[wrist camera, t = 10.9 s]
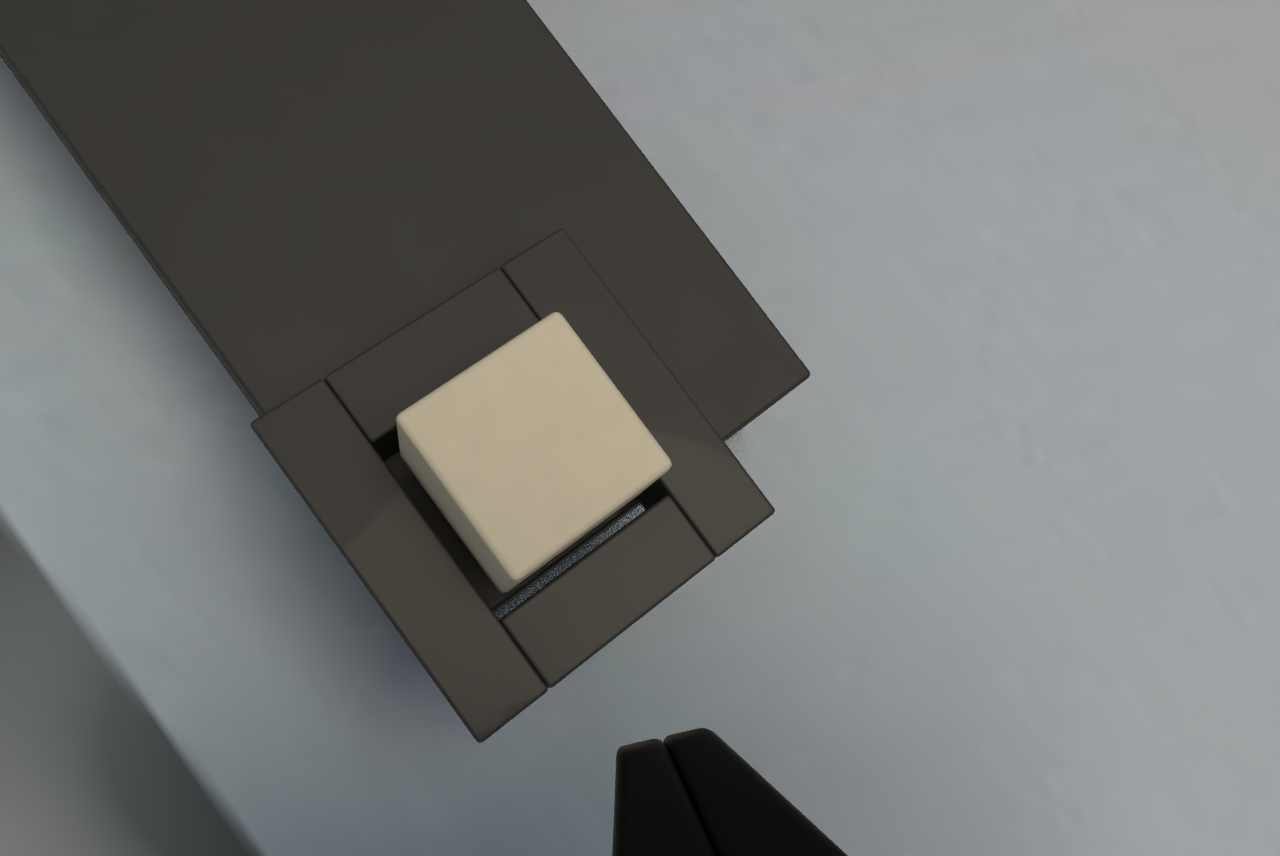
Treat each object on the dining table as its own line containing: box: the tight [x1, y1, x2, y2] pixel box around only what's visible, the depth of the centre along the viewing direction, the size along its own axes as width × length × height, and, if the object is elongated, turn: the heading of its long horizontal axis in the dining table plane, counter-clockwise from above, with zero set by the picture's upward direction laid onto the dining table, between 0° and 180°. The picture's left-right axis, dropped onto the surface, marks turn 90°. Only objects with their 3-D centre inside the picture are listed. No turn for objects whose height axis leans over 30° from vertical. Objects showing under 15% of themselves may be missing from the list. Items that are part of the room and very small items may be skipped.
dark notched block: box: [0, 0, 810, 743], centre depth 19 cm, size 19×8×6 cm, turn 37°
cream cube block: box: [396, 312, 672, 593], centre depth 14 cm, size 3×3×2 cm
